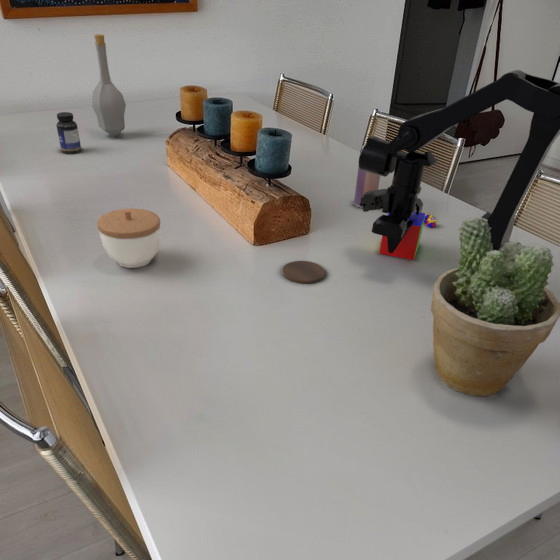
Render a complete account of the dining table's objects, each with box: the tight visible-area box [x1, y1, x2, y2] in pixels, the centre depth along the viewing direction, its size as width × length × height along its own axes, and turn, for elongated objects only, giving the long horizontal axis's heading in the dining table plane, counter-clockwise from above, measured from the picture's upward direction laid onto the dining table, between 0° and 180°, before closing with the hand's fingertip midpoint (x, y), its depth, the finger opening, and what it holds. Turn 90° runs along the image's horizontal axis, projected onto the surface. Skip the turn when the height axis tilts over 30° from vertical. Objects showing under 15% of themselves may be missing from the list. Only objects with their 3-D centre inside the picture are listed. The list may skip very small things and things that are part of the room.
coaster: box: [282, 260, 326, 284], centre depth 116 cm, size 9×9×1 cm
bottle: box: [91, 33, 127, 137], centre depth 178 cm, size 11×11×30 cm
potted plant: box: [430, 216, 560, 397], centre depth 83 cm, size 18×19×25 cm
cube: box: [378, 211, 427, 261], centre depth 125 cm, size 8×8×8 cm
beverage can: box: [353, 144, 381, 209], centre depth 143 cm, size 6×6×15 cm
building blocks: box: [424, 212, 438, 228], centre depth 141 cm, size 6×8×2 cm
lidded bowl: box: [96, 208, 161, 269], centre depth 114 cm, size 13×13×11 cm
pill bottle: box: [55, 111, 82, 155], centre depth 170 cm, size 6×6×11 cm
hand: (390, 252), depth 121 cm, fingers closed
